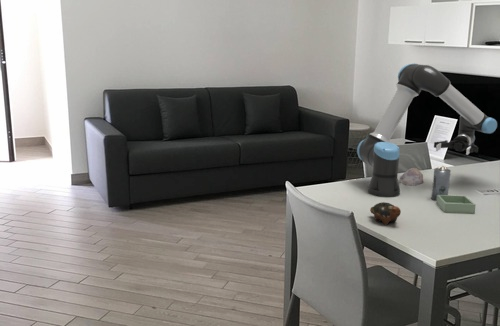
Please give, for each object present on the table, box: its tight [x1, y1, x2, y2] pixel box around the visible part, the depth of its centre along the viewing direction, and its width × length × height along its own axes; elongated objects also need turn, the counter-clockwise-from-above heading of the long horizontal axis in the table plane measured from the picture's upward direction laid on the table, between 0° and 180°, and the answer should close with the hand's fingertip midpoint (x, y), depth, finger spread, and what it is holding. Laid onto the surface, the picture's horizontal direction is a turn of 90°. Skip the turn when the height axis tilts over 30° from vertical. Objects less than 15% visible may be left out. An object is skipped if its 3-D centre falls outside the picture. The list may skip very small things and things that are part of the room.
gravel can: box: [431, 165, 451, 202], centre depth 244 cm, size 7×7×16 cm
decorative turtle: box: [369, 201, 402, 226], centre depth 214 cm, size 10×15×8 cm, turn 36°
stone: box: [398, 167, 424, 187], centre depth 274 cm, size 17×10×10 cm
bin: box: [435, 194, 476, 215], centre depth 232 cm, size 13×13×4 cm
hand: (451, 150), depth 250 cm, fingers open, 13 cm apart
